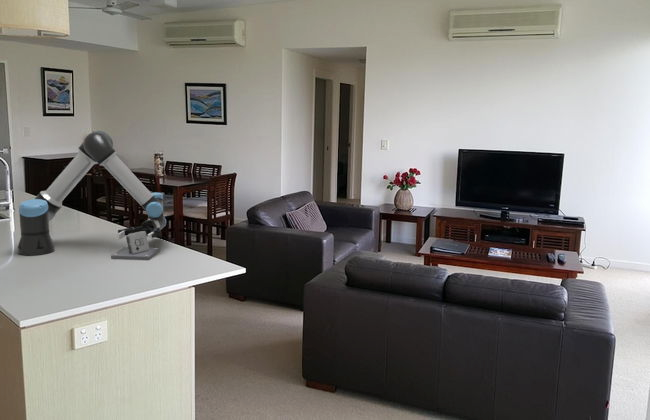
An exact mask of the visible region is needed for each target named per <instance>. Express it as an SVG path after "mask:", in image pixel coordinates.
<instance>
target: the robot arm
mask: <svg viewBox="0 0 650 420" xmlns="http://www.w3.org/2000/svg"><path fill="white" fill-rule="evenodd" d="M113 147H114V142H113V139H112V137H111V136H110V135H109V134H108V133H107V132H104V131H103V130H96V131H92V132H90V133H88V134H87V135H86V136H85V138H84V139H83V142H82V143H81V144H80V146H79V147H78V153H77V154H76V155H75V156H74V157H73V159H72V160H71V161H70V162H69V163H68V165H66V166H65V168H64V169H63V170H62V171H61V173H60V174H59V175H58V176H57V177H56V178H55V179H54V181H53V182H52V183H51V185H49V186H48V188H47V189H46V190H41V191H40V192H39V193H38V194H37V195H36V196H35V197H34V198H33V199H27V200H23V201H21V202H20V203H19V206H18V213H19V227H20V238H19V242H18V245H17V254H18V255H22V256H39V255H46V254H50V253H53V252H54V251H55V243H54V240H53V239H52V237H51V235H50V221H52V220H53V219H54V217H56V215H57V213H58V212H59V211H60V210H61V208H62V207H63V201H64V200H65V198H66V197H67V196H68V195H69V194H70V193H71V192H72V191H73V190H74V188H75V187H76V186H77V184H79V182H81V181H82V179H83V178H84V177H85V175H87V173H88V172H89V171H90V169H92V167H93V166H95V165H97V164H98V165H99V166H103V167H104V168H105V169H106V170H107V171H108V172H109V174H111V176H113V178H114V179H115V180H116V181H117V182H118V183H119V184H120V185H121V186H122V187H123V189H125V190H126V191H127V192H128V193H129V194H130V196H131V197H132V198H133V199H134V200H135V201H136V202H137V203H138V204H139V205H140V206H141V207H142V208H143V210H144V211H145V212H146V214H147V220H145V221H143V222H142V223H140V225H139V226H137V227H135V226H130V227H127V228H123V229H118V230H117V240H118V241H119V240H121V239H123V238H126V236H128V235H129V234H131V233H136V232H141V231H145V232H146V235H147V240H148V242H149V241H151V240H153V239H154V238H158V237H159V238H162V231H161V230H163V229H164V228H165V227H166V225H167V219H166V217H165V215H164V195H163V193H162V192H151V191H150V190H149V189H148V188H147V187H146V186H145V185H144V184H143V183H142V181H141V180H140V179H139V178H138V177H137V176H136V175H135V174H134V173H133V172H132V171H131V169H130V168H129V167H128V166H127V165H126V164H125V163H124V162H123V161H122V159H120V158H119V156H118V155H117V151H116V150H115V149H114V148H113Z"/></svg>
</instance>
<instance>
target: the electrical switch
mask: <svg viewBox="0 0 650 420" xmlns="http://www.w3.org/2000/svg"><path fill="white" fill-rule="evenodd" d="M125 239H126V244H127V247H128V249H129V253H132V254H136V253H140V252H144V251H148V250H149V248H150V245H149V241H148V237H147V235H146V232H145V231H141V232H136V233H131V234H129V235H127V236H125Z"/></svg>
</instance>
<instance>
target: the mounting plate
mask: <svg viewBox="0 0 650 420" xmlns="http://www.w3.org/2000/svg"><path fill="white" fill-rule="evenodd" d="M160 252H161V247H149V250H148V251H144V252H140V253H136V254H132V253H129V249H128V246H124V247H123V248H121V249H119V250H117V251H116V252H115V253H113V254H111V255H110V259H111V260H133V261H134V260H135V261H136V260H137V261H150V260H151V259H153V258H154V257H155V256H156V255H158V254H159V253H160Z"/></svg>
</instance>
